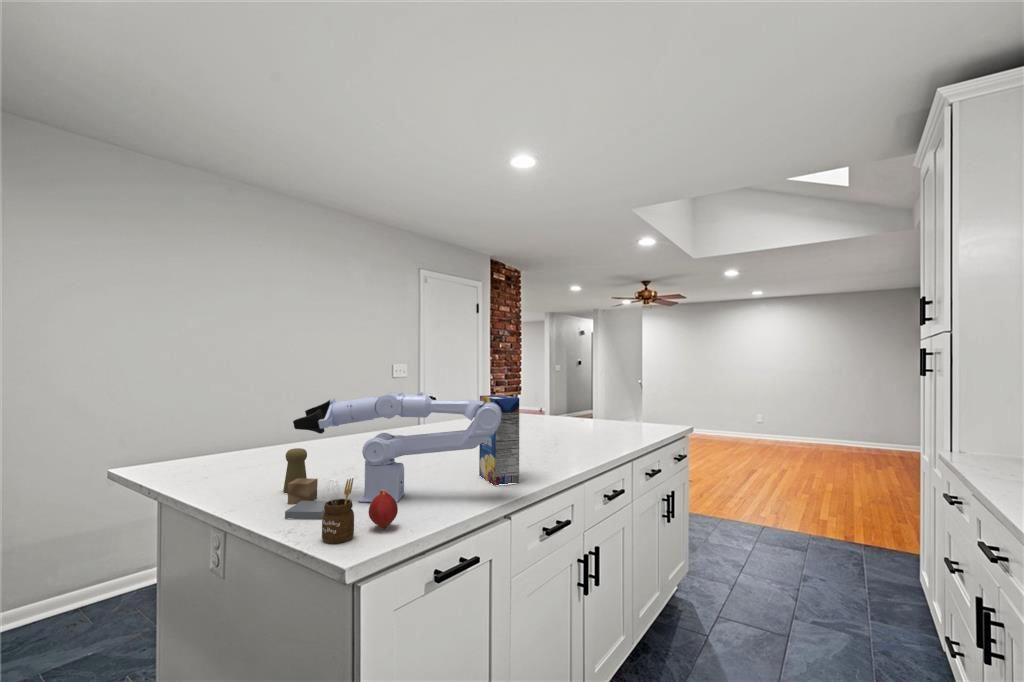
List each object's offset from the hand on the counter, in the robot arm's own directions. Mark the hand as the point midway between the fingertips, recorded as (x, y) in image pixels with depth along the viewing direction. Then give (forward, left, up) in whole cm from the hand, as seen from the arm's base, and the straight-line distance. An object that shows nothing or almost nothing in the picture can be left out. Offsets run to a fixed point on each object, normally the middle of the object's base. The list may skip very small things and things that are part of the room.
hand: (300, 419), depth 121 cm
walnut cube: (-2, +3, -20) cm, 20 cm away
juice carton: (-49, -19, -20) cm, 56 cm away
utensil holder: (-20, +27, -20) cm, 39 cm away
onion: (-27, +21, -20) cm, 39 cm away
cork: (+4, -6, -20) cm, 21 cm away
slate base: (-8, +12, -20) cm, 24 cm away
